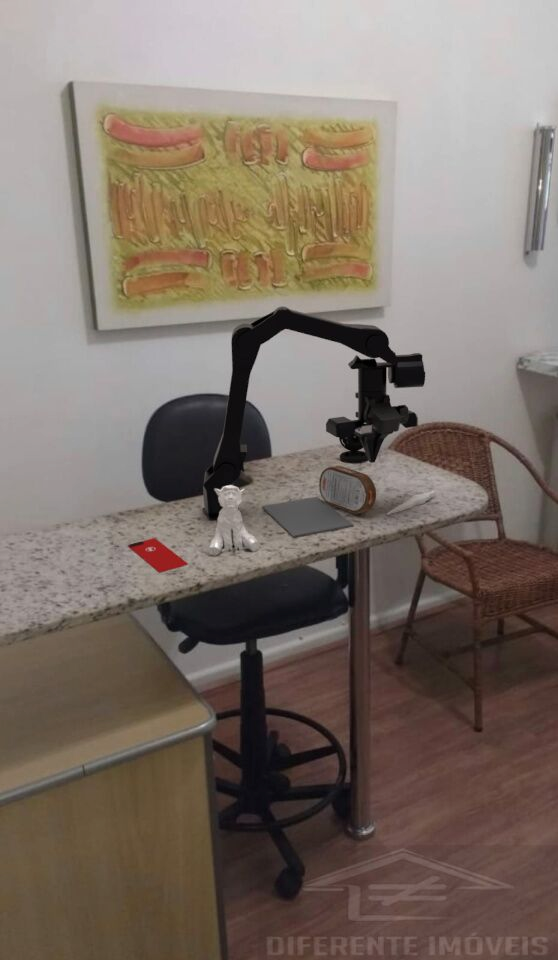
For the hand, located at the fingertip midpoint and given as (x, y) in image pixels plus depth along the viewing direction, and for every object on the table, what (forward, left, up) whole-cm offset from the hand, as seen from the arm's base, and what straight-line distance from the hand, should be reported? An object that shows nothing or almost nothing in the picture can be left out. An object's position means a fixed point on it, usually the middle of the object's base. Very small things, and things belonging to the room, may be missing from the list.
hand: (372, 462), depth 157 cm
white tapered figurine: (+7, -4, -10) cm, 13 cm away
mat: (-15, 0, -10) cm, 18 cm away
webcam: (+11, +31, -10) cm, 34 cm away
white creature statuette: (-34, -7, -10) cm, 36 cm away
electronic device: (-48, -5, -10) cm, 49 cm away
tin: (-7, 0, -9) cm, 12 cm away
